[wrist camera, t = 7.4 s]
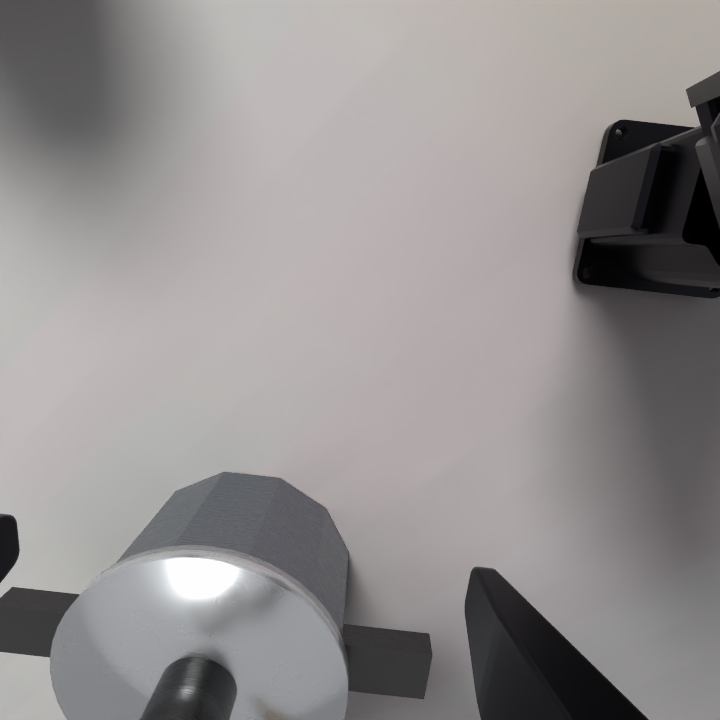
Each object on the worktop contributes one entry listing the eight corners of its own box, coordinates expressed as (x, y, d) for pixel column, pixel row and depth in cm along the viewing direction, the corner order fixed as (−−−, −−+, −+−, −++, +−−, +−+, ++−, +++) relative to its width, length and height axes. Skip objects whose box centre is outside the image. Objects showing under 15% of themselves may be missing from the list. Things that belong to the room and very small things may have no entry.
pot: (430, 495, 22) (451, 582, 16) (402, 661, 24) (411, 789, 18) (74, 455, 22) (-35, 527, 16) (84, 625, 24) (-7, 742, 18)
